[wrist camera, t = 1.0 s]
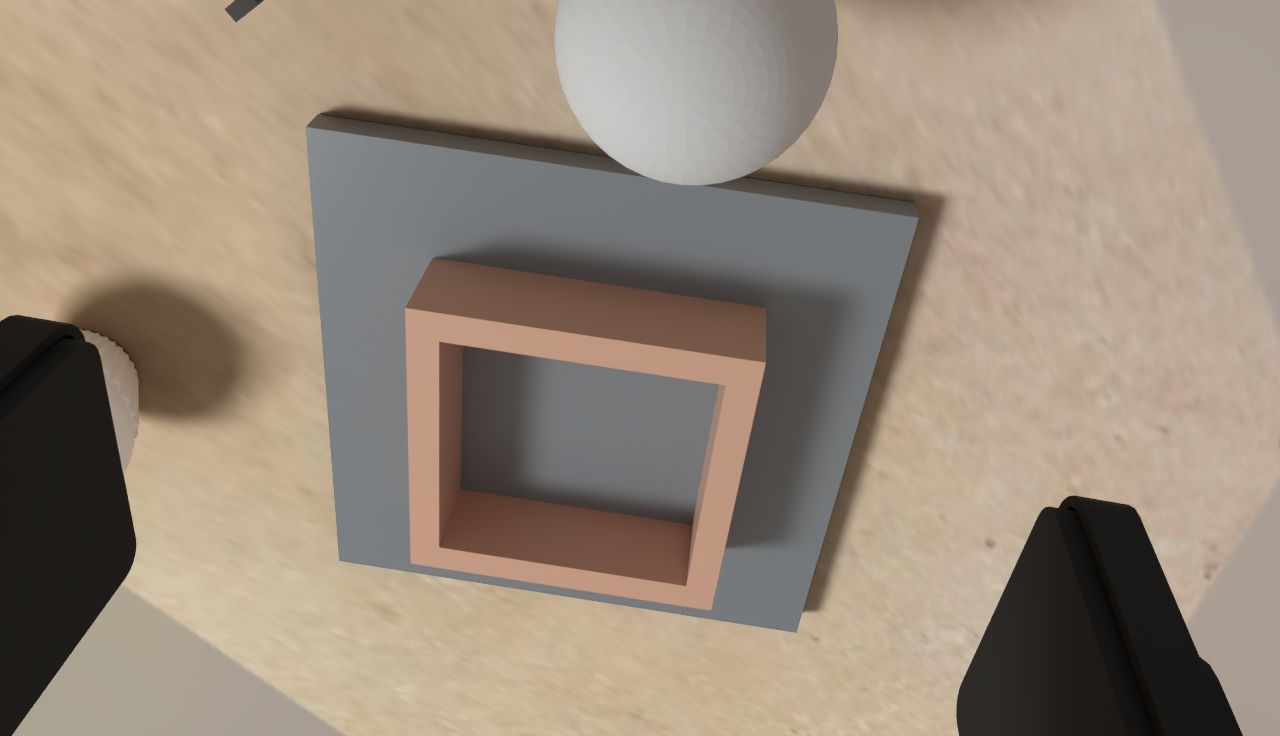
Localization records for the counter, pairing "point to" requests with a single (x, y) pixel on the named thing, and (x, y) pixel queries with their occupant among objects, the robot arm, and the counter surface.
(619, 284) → the holder board
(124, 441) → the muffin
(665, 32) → the light bulb
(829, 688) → the counter surface
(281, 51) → the counter surface
